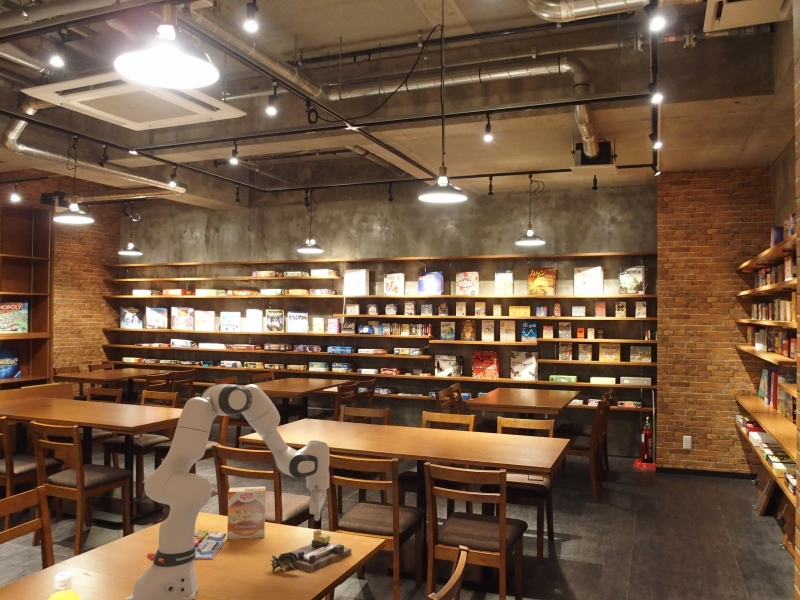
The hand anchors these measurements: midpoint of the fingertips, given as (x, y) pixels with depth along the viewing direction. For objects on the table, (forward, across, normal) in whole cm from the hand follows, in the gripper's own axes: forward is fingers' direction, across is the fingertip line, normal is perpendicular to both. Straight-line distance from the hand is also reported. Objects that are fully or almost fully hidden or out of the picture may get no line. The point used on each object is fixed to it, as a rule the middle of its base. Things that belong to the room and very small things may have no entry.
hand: (317, 519), depth 242 cm
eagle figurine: (+13, -17, +9) cm, 23 cm away
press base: (+13, -5, 0) cm, 14 cm away
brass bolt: (+8, +1, -2) cm, 9 cm away
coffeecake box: (+13, +19, +32) cm, 39 cm away
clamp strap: (+11, -7, -2) cm, 13 cm away
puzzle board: (+14, +8, +50) cm, 52 cm away
